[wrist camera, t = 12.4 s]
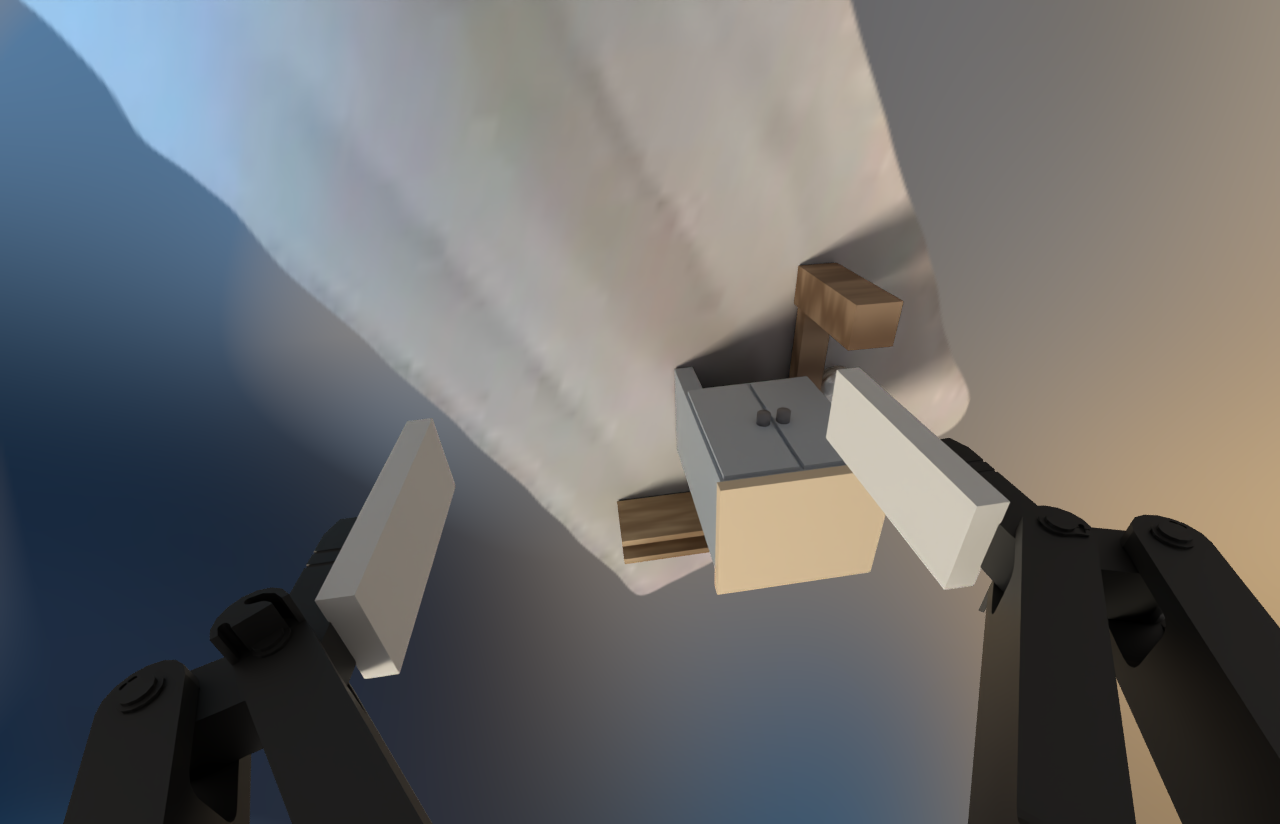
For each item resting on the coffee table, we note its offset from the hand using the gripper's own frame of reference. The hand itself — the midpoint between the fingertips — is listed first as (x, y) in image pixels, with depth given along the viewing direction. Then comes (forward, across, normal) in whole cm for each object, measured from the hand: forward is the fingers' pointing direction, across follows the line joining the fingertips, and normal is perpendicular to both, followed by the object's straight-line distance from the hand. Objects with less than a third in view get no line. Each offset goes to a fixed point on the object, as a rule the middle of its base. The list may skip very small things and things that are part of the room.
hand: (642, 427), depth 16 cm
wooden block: (+35, +22, -14) cm, 43 cm away
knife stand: (+35, +9, -36) cm, 51 cm away
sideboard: (+35, +13, -22) cm, 43 cm away
